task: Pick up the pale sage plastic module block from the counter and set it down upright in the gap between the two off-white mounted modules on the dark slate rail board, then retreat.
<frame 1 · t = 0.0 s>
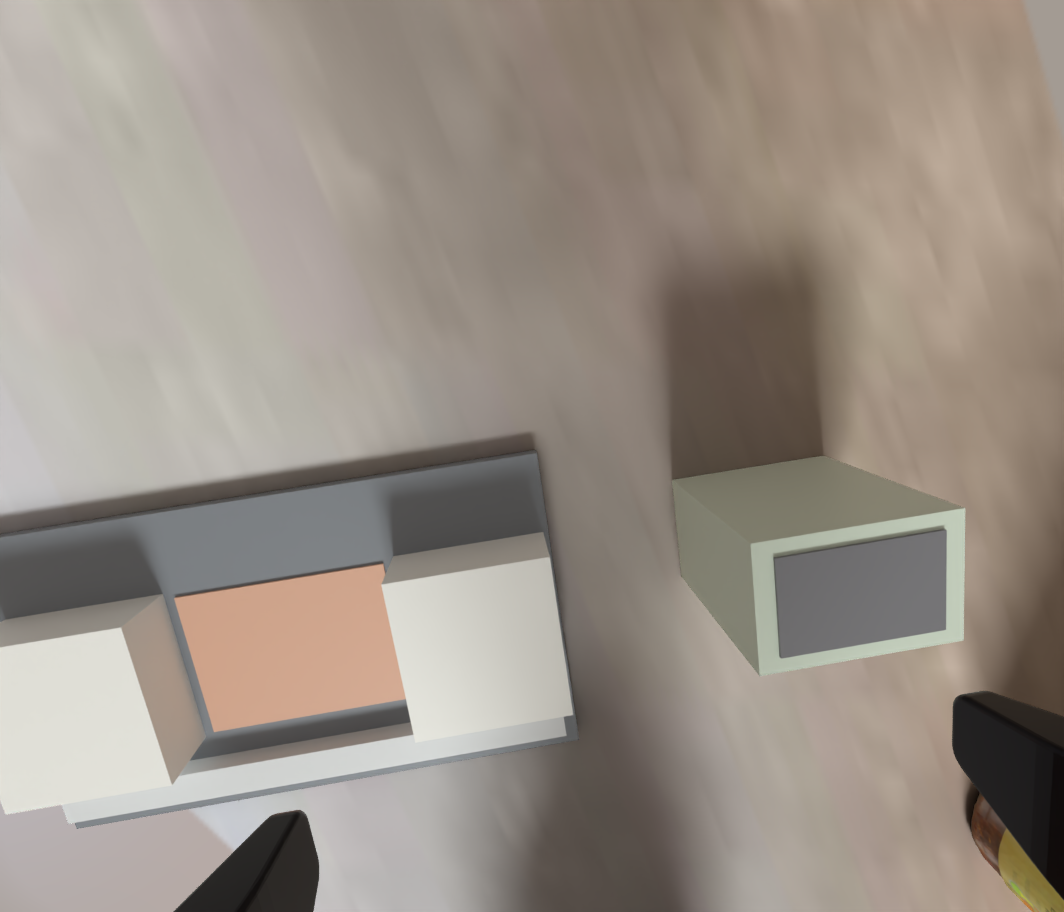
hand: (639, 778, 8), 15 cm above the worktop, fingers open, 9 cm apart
rail board: (302, 640, 23), on the worktop
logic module: (751, 516, 23), on the worktop
sauce bottle: (1025, 802, 27), on the worktop
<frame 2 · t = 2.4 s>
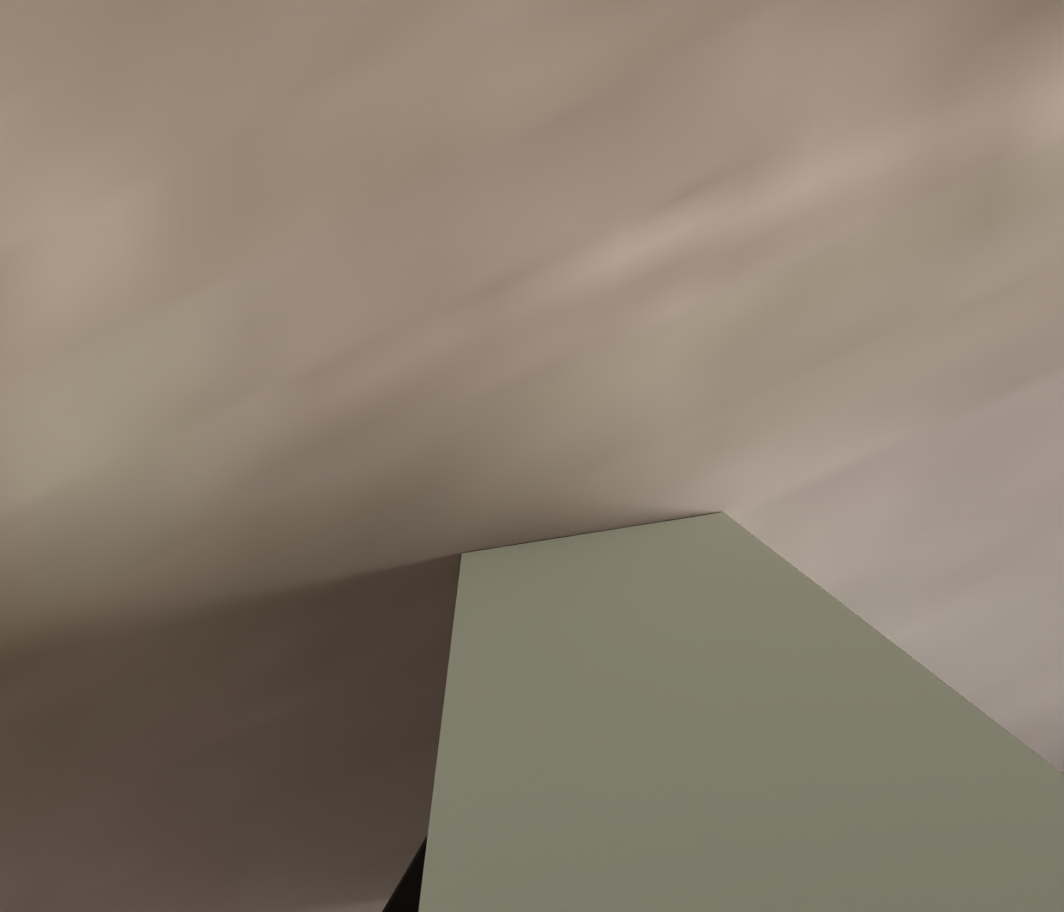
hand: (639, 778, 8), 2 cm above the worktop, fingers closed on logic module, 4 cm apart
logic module: (615, 707, 10), on the worktop, touching gripper
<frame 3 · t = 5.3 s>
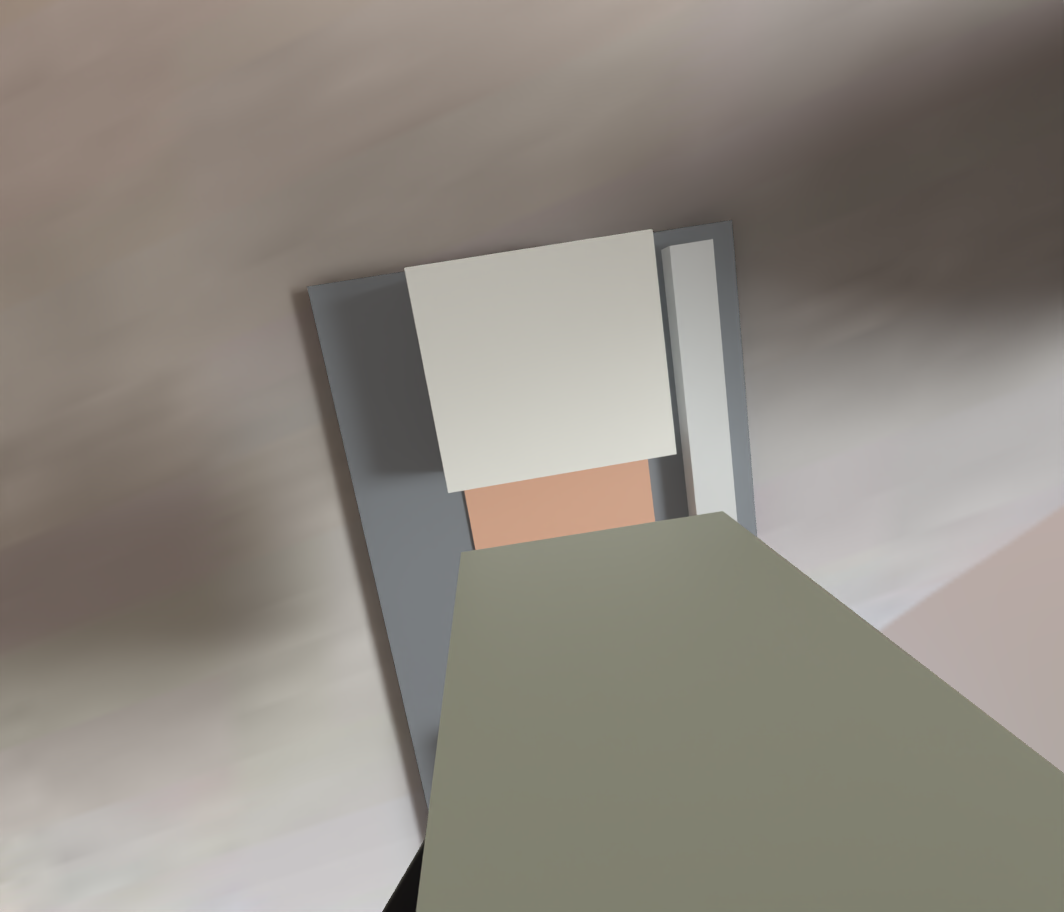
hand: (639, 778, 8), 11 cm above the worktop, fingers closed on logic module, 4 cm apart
rail board: (570, 574, 19), on the worktop
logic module: (614, 706, 10), point 9 cm above the worktop, touching gripper
when the fingers open (3 cm above the worktop, at t = 8.0 s): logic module drops 1 cm, resting on rail board.
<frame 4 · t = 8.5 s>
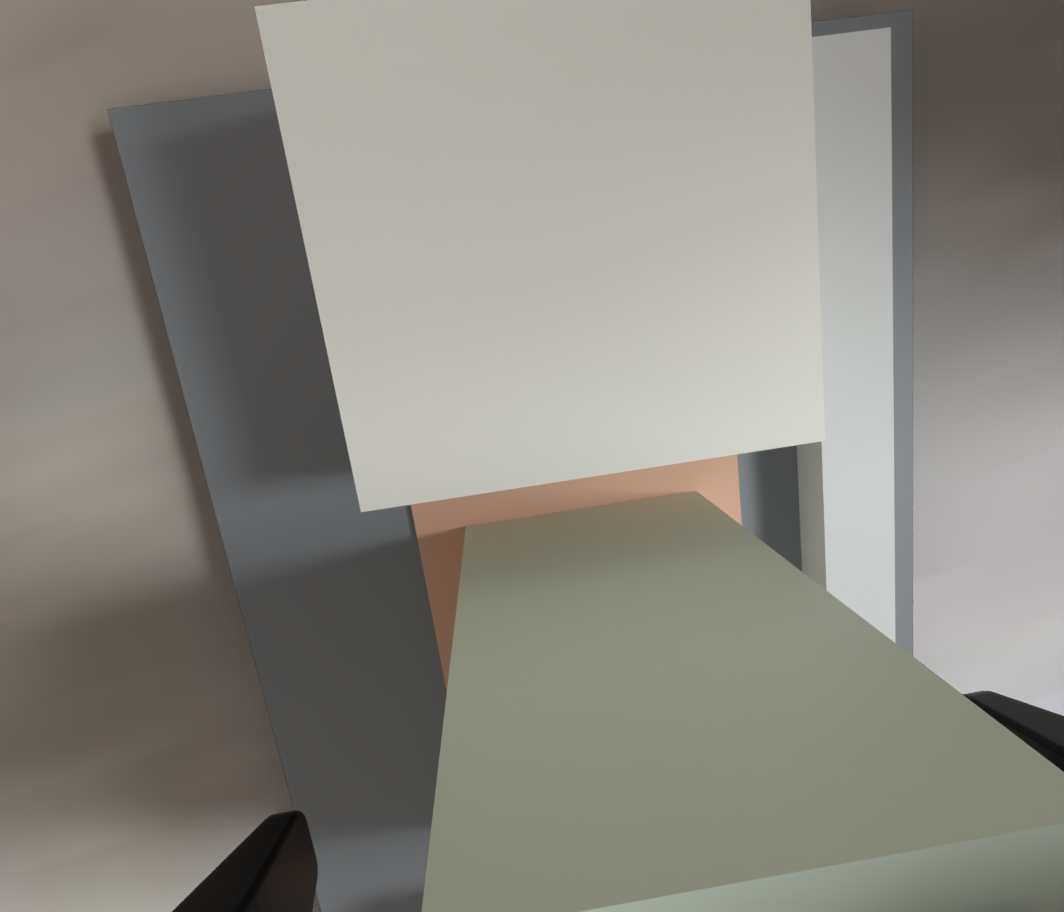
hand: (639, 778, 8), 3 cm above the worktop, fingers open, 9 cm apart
rail board: (593, 646, 11), on the worktop
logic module: (601, 664, 11), point 1 cm above the worktop, touching rail board
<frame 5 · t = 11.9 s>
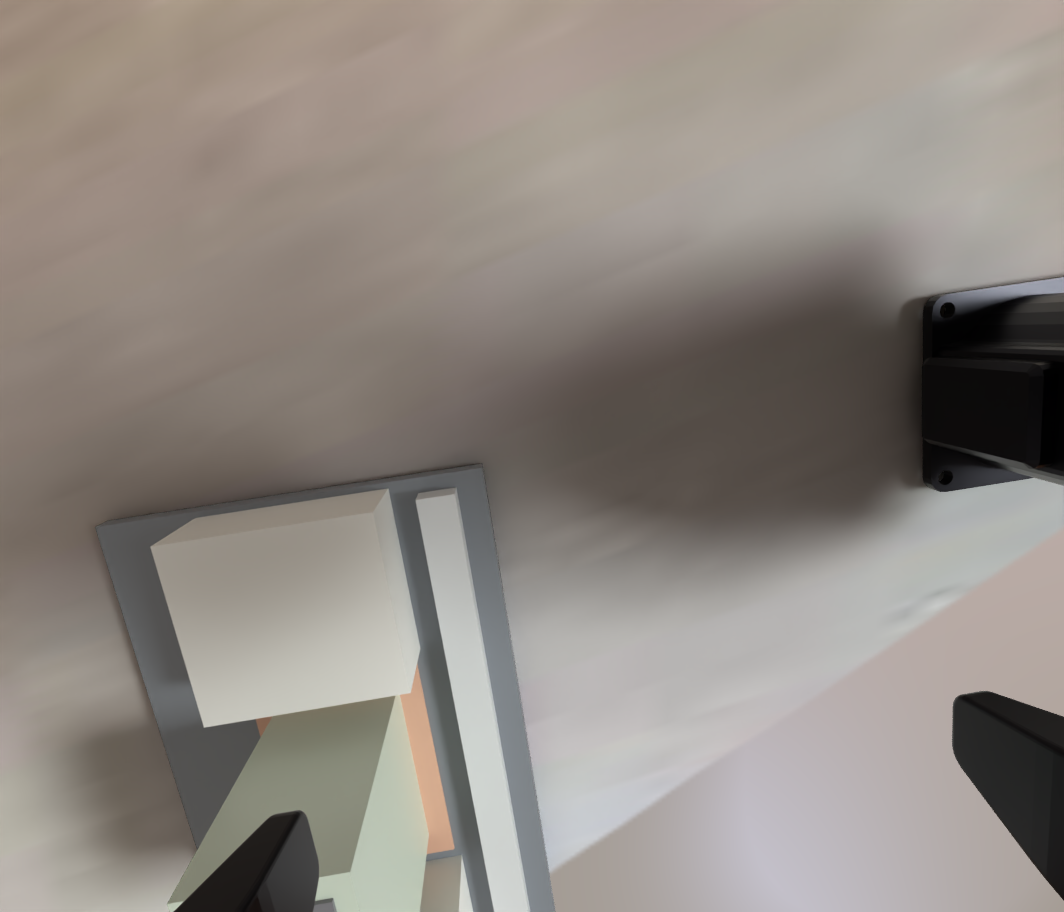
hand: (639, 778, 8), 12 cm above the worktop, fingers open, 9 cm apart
rail board: (359, 758, 21), on the worktop
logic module: (356, 772, 20), point 1 cm above the worktop, touching rail board
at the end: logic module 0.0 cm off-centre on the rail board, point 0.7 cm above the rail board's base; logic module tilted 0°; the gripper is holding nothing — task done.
